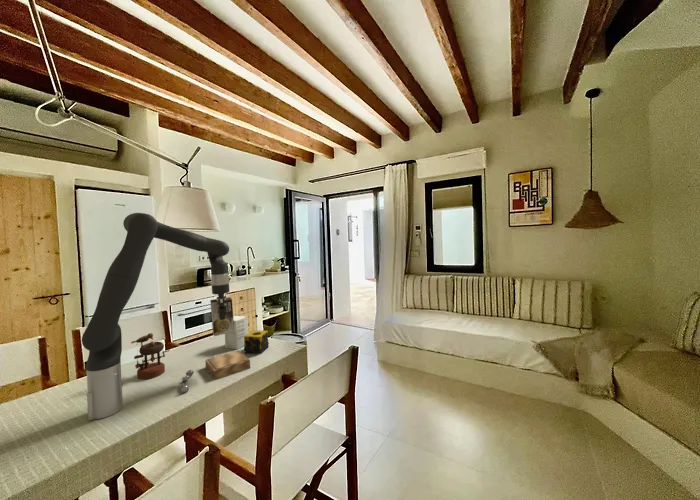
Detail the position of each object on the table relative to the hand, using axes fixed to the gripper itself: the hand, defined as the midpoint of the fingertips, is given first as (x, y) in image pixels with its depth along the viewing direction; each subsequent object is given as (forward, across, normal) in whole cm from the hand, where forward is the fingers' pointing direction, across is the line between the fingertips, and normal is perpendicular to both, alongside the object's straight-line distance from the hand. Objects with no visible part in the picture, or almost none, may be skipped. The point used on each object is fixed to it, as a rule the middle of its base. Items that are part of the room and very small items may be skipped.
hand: (222, 317), depth 128 cm
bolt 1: (+25, -2, +16) cm, 30 cm away
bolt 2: (+25, -11, +16) cm, 32 cm away
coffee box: (+8, 0, 0) cm, 8 cm away
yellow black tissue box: (+26, +17, -16) cm, 36 cm away
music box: (+25, +13, +31) cm, 42 cm away
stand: (+26, +2, -1) cm, 26 cm away
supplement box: (+26, +30, -7) cm, 41 cm away
